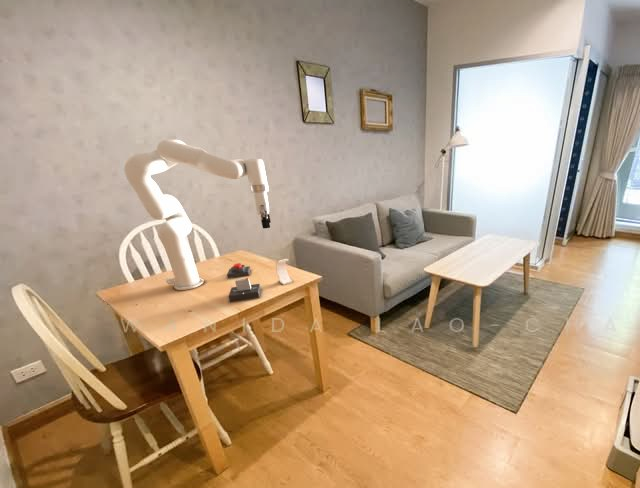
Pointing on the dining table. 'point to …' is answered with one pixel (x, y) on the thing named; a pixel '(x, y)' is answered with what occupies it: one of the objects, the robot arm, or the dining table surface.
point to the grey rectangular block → (243, 284)
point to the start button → (237, 266)
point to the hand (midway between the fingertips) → (266, 225)
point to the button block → (238, 272)
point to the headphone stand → (282, 272)
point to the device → (244, 293)
